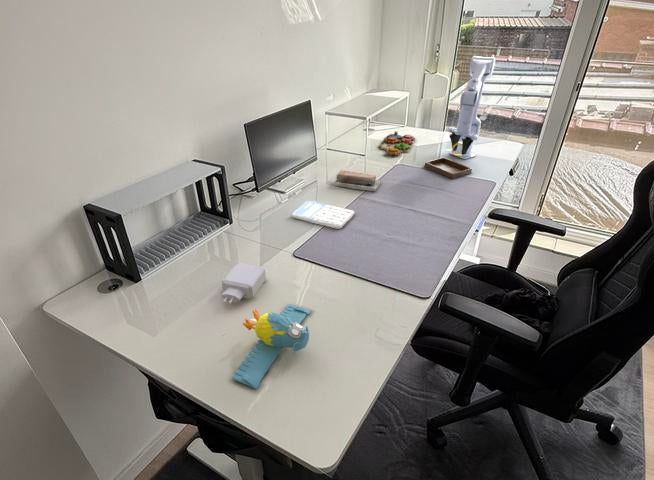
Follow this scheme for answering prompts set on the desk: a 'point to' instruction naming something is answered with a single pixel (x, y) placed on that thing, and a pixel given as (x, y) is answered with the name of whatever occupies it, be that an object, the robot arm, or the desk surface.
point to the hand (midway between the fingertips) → (458, 152)
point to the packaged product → (357, 180)
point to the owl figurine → (272, 341)
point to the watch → (455, 145)
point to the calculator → (323, 214)
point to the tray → (448, 167)
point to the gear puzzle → (397, 143)
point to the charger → (242, 282)
